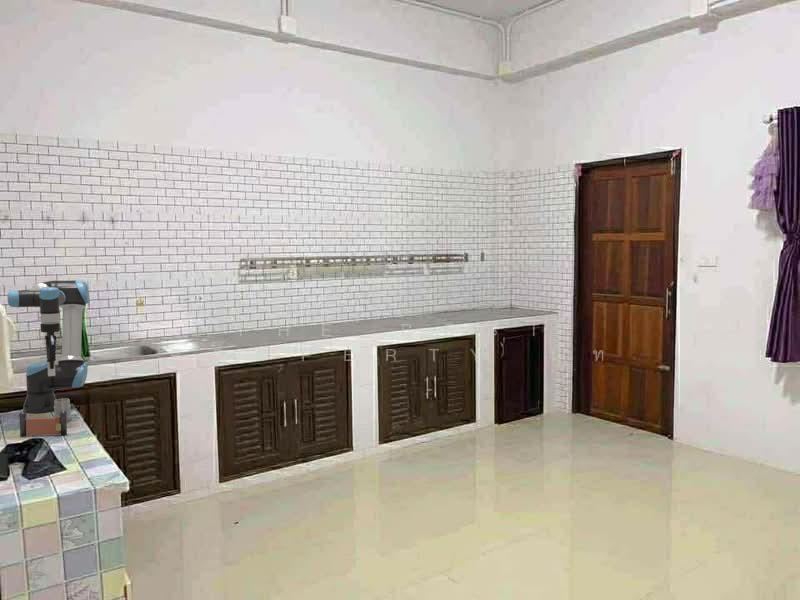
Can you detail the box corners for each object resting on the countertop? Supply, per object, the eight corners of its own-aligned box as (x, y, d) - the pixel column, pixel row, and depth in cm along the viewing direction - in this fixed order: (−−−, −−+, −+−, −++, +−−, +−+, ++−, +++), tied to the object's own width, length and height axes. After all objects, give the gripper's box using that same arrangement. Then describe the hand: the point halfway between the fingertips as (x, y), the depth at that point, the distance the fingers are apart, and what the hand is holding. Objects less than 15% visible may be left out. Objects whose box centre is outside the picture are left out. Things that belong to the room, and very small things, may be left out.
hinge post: (21, 435, 282) (20, 411, 281) (28, 435, 282) (27, 411, 281) (18, 437, 279) (17, 412, 278) (25, 436, 280) (24, 412, 279)
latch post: (58, 434, 285) (58, 410, 284) (68, 433, 285) (67, 410, 284) (56, 436, 281) (55, 412, 280) (65, 436, 282) (65, 412, 281)
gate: (26, 435, 280) (25, 418, 280) (27, 434, 282) (27, 417, 281) (59, 434, 283) (59, 417, 282) (61, 433, 284) (60, 416, 283)
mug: (71, 417, 310) (70, 392, 309) (72, 424, 300) (72, 398, 299) (53, 419, 306) (52, 394, 305) (53, 426, 296) (53, 400, 295)
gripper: (38, 321, 290) (40, 373, 292) (42, 325, 279) (44, 379, 282) (57, 320, 294) (58, 372, 296) (62, 324, 284) (63, 377, 286)
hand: (51, 375), depth 289 cm, fingers closed
